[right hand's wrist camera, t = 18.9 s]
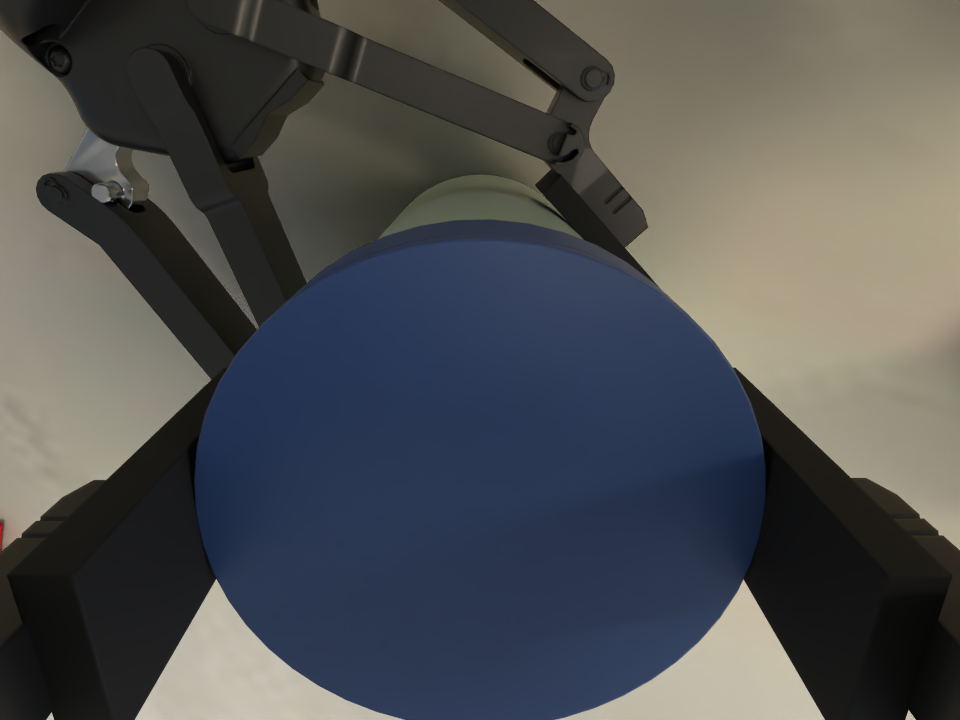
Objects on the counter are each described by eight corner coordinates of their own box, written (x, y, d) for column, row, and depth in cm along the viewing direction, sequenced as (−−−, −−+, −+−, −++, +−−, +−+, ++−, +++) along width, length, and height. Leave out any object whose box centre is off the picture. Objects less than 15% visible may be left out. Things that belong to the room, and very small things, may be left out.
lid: (160, 525, 13) (107, 593, 11) (388, 103, 10) (367, 99, 8) (542, 708, 14) (551, 793, 13) (827, 395, 12) (892, 446, 10)
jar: (362, 191, 26) (162, 304, 10) (568, 158, 25) (726, 219, 9) (402, 381, 29) (302, 710, 13) (587, 355, 28) (730, 661, 12)
